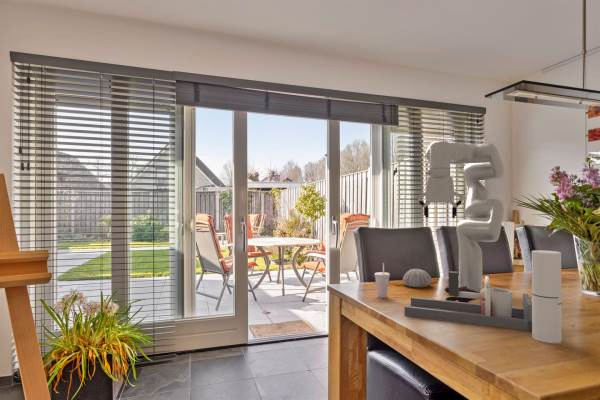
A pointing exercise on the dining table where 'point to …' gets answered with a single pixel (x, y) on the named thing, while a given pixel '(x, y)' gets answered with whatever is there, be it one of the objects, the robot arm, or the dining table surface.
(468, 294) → the foosball rod
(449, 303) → the grey walled channel
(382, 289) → the smoothie
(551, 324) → the cylindrical container
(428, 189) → the robot arm
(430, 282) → the sea urchin shell
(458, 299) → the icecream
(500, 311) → the drinking glass
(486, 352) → the dining table surface
